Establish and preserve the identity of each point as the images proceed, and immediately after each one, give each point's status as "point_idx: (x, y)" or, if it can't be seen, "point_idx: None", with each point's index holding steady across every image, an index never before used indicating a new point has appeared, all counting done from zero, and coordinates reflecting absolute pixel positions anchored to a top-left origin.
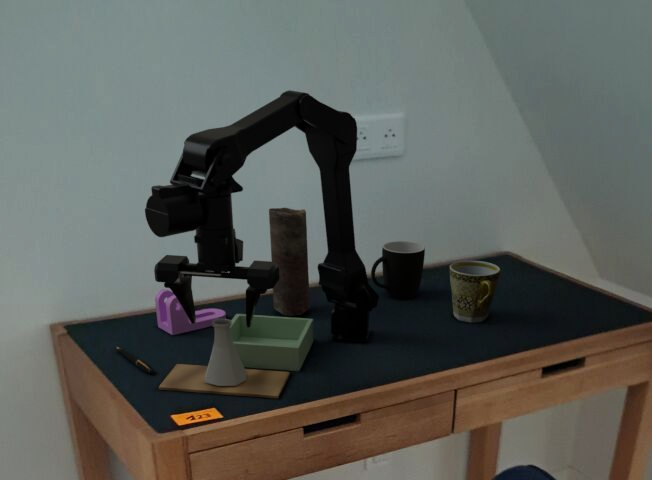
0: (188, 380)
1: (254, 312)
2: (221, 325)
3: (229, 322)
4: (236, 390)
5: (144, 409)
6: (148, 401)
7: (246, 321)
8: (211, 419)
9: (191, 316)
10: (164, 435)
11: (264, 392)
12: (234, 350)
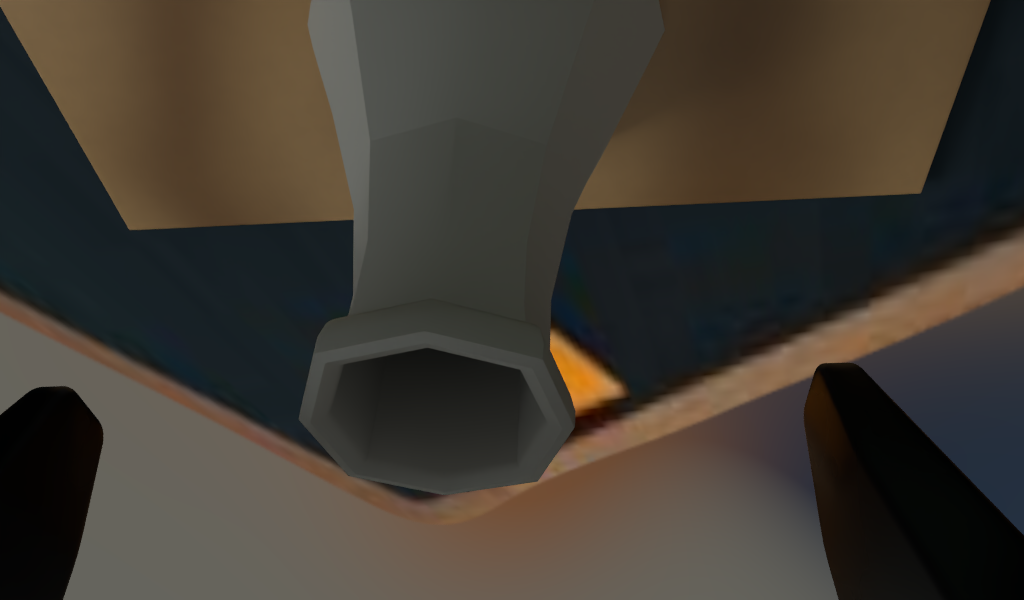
0: (233, 108)
1: (999, 524)
2: (481, 486)
3: (547, 422)
4: (624, 179)
5: (237, 389)
6: (194, 331)
7: (823, 521)
8: (575, 410)
9: (73, 552)
10: (445, 508)
11: (825, 170)
12: (585, 184)
